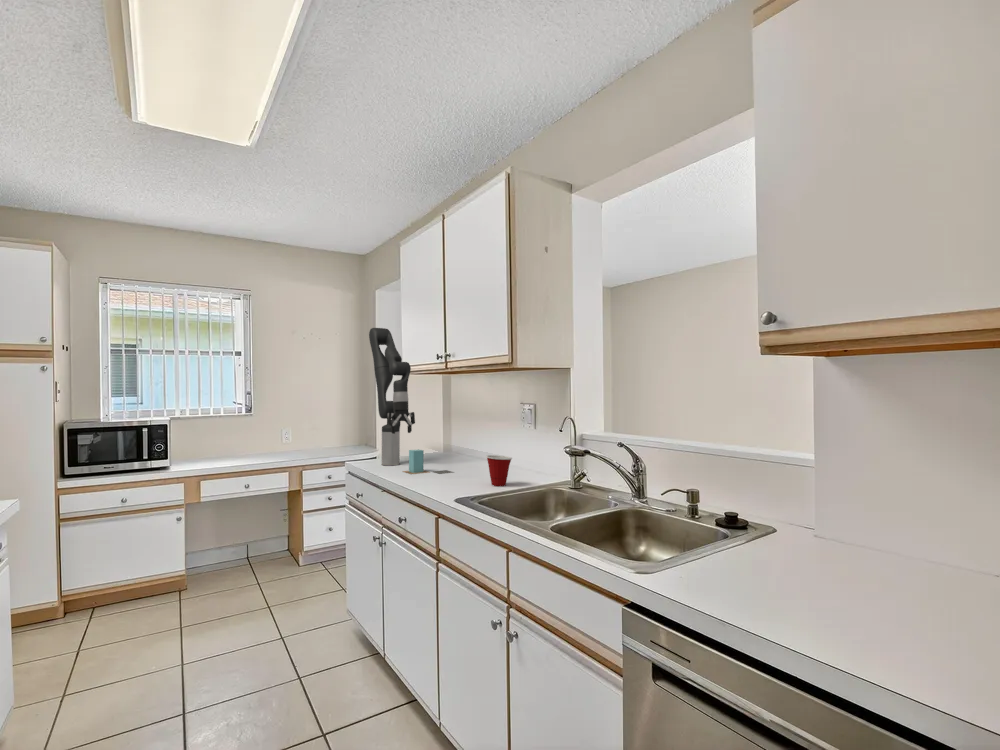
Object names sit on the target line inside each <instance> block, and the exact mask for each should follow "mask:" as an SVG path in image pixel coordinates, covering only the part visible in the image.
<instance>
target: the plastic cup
mask: <svg viewBox="0 0 1000 750" xmlns="http://www.w3.org/2000/svg"><path fill="white" fill-rule="evenodd" d="M485 457H486V460H487V464H488V465H487V466H488V472H489V478H490V483H491V486H492V485H494V486H493V487H504V485H505V486H506V485H507V481H508V480H507V479H508V474H509V469H510V465H511V462H512V459H513V457H511V456H506V455H495V454H494V455H493V454H492V455H491V454H490V455H486V456H485Z"/></svg>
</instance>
